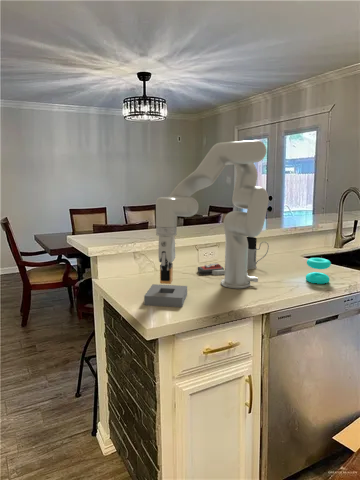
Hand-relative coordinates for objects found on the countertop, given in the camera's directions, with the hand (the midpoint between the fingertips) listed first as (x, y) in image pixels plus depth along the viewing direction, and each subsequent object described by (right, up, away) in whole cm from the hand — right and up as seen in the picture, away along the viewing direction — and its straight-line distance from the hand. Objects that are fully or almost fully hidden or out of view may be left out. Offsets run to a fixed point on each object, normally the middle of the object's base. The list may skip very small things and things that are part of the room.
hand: (166, 278), depth 138 cm
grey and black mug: (+42, 0, +48) cm, 64 cm away
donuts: (+66, -4, +25) cm, 71 cm away
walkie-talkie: (+23, -2, +39) cm, 45 cm away
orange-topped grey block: (0, -1, 0) cm, 1 cm away
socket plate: (0, -8, +2) cm, 8 cm away
